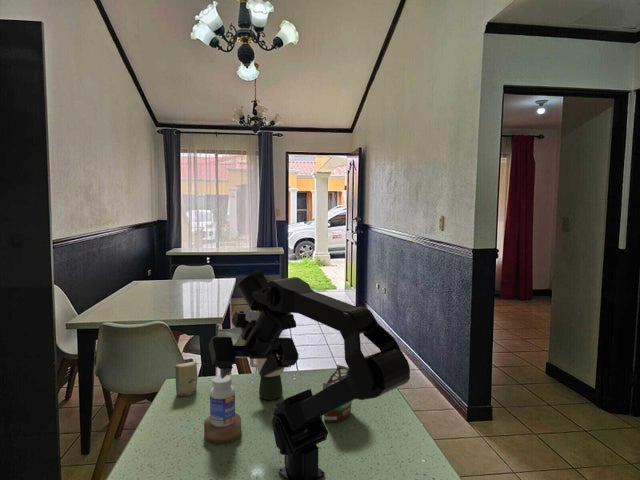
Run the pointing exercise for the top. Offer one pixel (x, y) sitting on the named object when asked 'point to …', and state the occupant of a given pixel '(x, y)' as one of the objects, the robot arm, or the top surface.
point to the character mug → (269, 381)
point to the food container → (344, 410)
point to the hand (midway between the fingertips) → (241, 375)
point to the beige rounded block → (186, 378)
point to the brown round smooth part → (222, 431)
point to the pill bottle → (222, 402)
